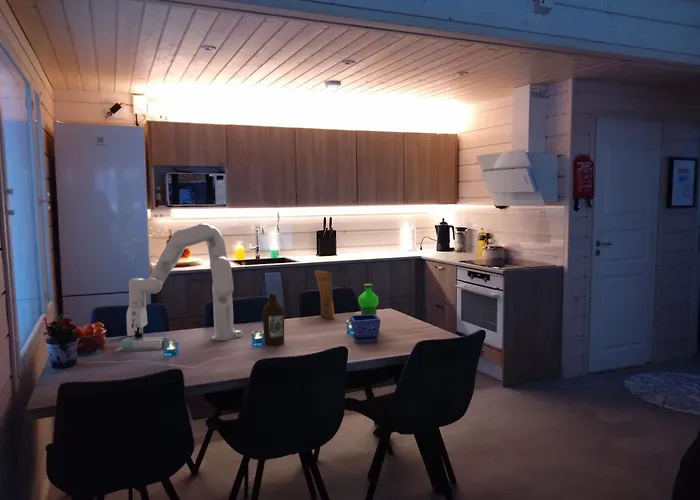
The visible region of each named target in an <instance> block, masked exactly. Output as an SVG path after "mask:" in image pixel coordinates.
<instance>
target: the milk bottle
mask: <svg viewBox="0 0 700 500" xmlns="http://www.w3.org/2000/svg"><path fill="white" fill-rule="evenodd" d="M130 314H131V308H130V305H128V308H127V311H126V333H127V334H126V335H127V336H128V337H129V336H132V337H134V336H133V335H135V333H134V331H133V328H131V324H130ZM142 333H143V334H144V331H143V332H142Z"/></svg>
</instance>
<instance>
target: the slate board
mask: <svg viewBox="0 0 700 500" xmlns="http://www.w3.org/2000/svg"><path fill="white" fill-rule="evenodd" d="M173 340H178V343H179V342H180V341H181V340H182V338H177V339H176V338H175V339H173ZM161 350H164V347H163V349H131V350H122V345H121V346H120V347H118V348H116V349H114V352H130V351H131V352H133V351H135V352H136V351H161Z"/></svg>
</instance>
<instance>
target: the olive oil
mask: <svg viewBox="0 0 700 500" xmlns="http://www.w3.org/2000/svg"><path fill="white" fill-rule="evenodd" d="M268 297H269V299H268V300H269V301H267V303H266V304H265V305H264V307H263V308H262V312H261V316H262V327H263V339H264V345H265V346H266V347H278V346H283V345H285V308H284V306H282V305H281V304H280V302H279V301H278V300H277V292H275V291H274V292H269V296H268Z"/></svg>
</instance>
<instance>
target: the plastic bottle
mask: <svg viewBox="0 0 700 500" xmlns="http://www.w3.org/2000/svg"><path fill="white" fill-rule="evenodd" d="M363 289H364V292H363V293H361V294H360V295H359V296H358V299H357V300H358V305H359V306H360V315H365V314H375V315H377V306H378V305H379V296H378V295H377V294H375V293H374V292H373V291H372V289H373V284H372V283H365V284H363Z"/></svg>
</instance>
